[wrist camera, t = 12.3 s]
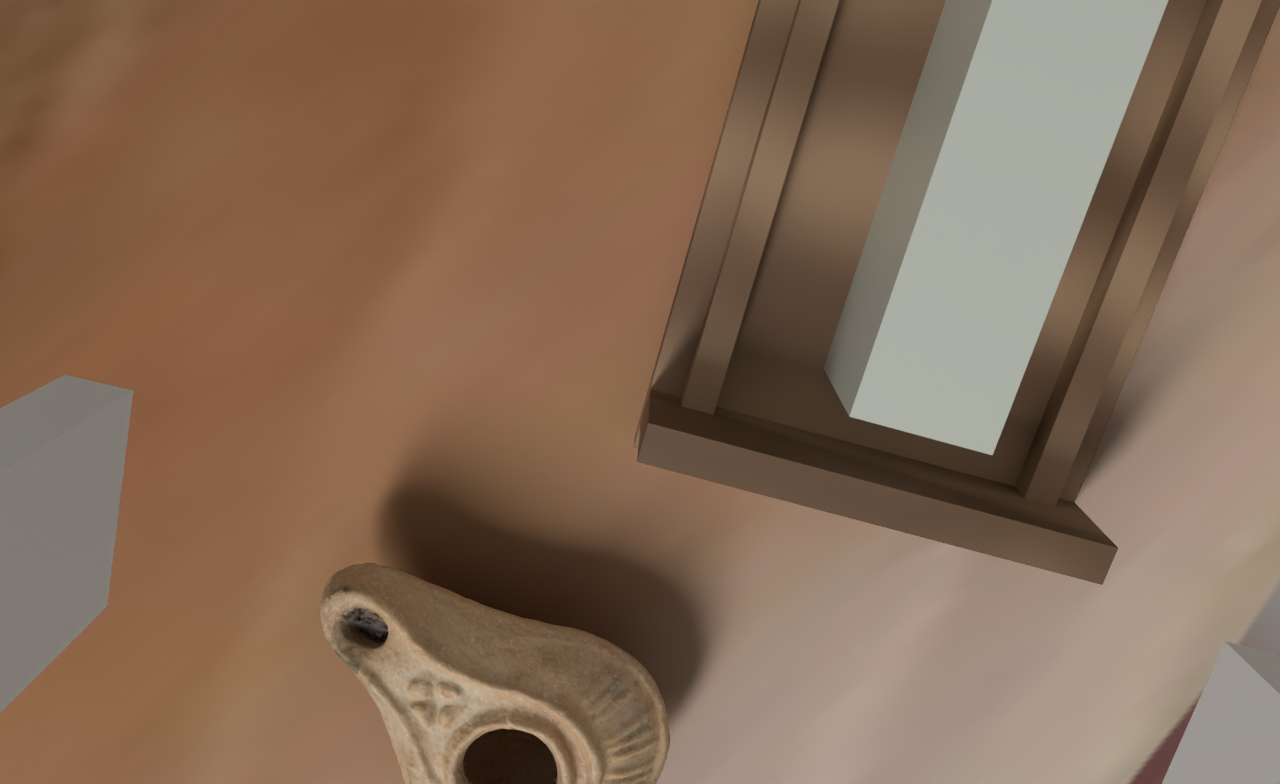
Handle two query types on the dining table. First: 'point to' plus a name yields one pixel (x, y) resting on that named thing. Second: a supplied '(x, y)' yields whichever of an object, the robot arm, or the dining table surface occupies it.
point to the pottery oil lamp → (492, 687)
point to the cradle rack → (830, 252)
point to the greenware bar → (984, 210)
